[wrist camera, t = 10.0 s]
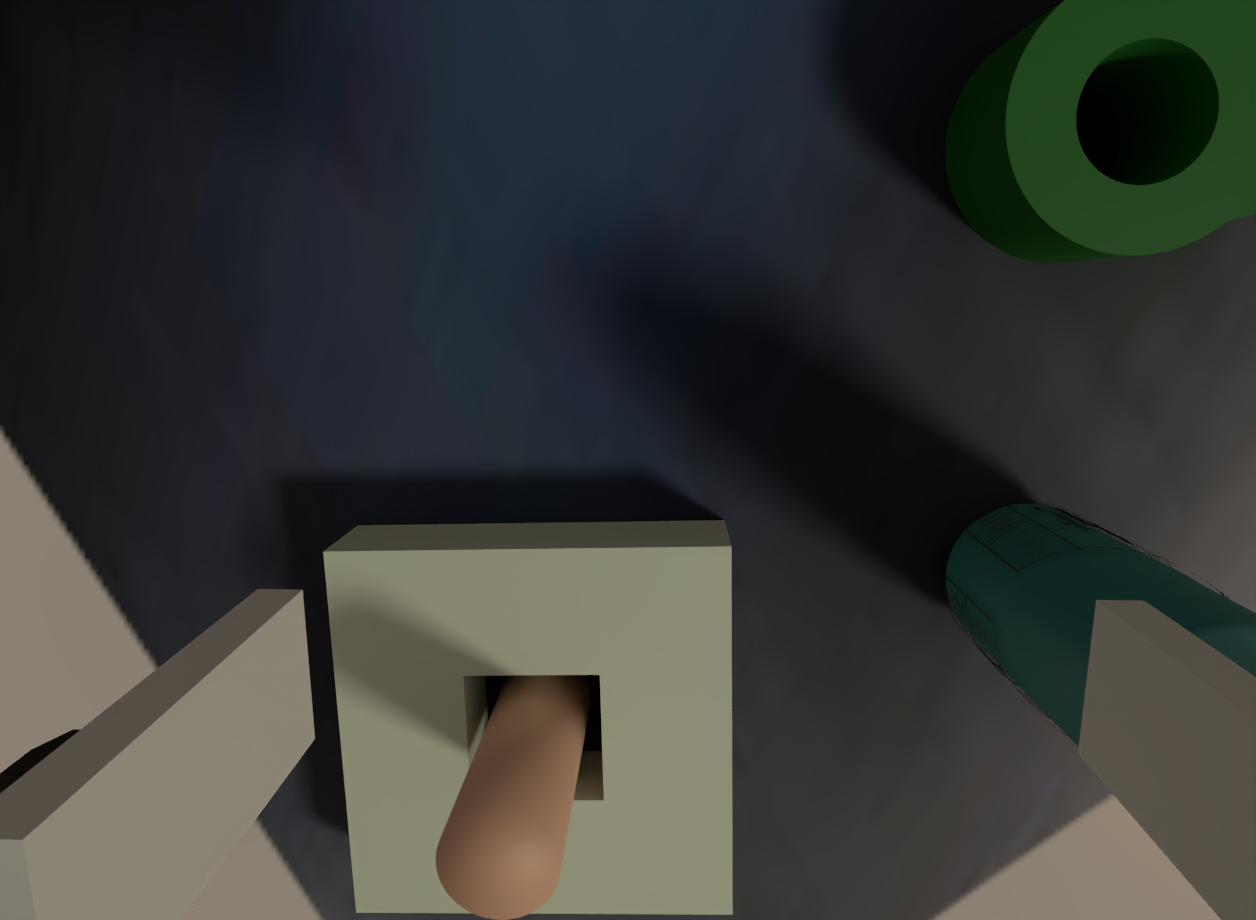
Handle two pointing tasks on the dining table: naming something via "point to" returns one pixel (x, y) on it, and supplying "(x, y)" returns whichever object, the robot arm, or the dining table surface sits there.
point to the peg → (517, 799)
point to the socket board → (539, 645)
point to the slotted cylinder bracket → (1148, 123)
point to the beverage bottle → (1070, 600)
